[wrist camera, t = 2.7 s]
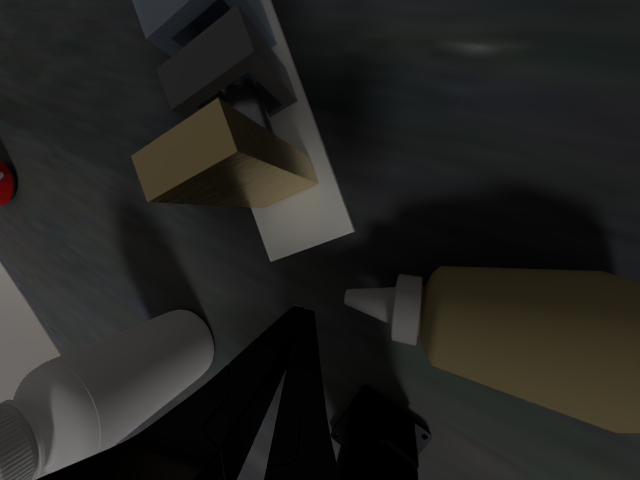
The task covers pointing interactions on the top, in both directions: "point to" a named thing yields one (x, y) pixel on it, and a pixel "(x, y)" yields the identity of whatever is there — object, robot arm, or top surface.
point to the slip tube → (224, 156)
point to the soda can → (6, 184)
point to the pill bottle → (100, 393)
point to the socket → (193, 20)
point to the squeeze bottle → (526, 334)
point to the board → (324, 198)
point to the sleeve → (225, 66)
